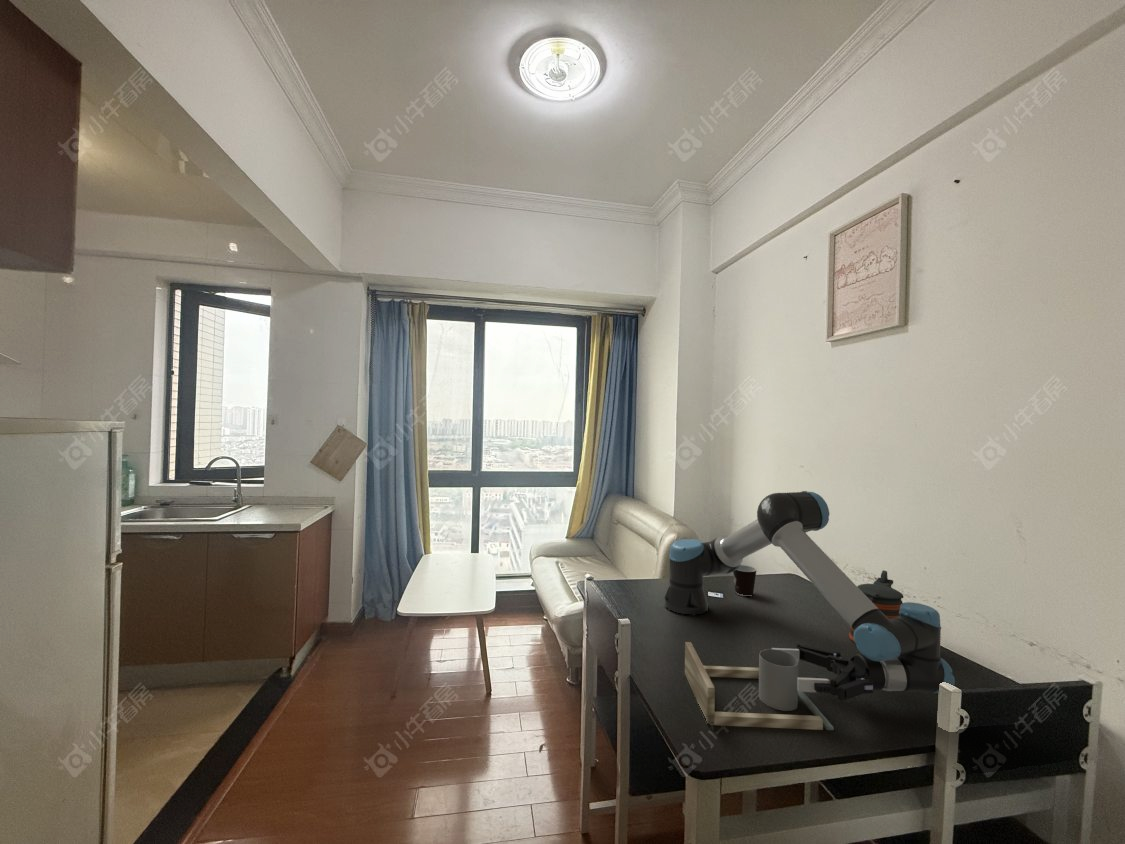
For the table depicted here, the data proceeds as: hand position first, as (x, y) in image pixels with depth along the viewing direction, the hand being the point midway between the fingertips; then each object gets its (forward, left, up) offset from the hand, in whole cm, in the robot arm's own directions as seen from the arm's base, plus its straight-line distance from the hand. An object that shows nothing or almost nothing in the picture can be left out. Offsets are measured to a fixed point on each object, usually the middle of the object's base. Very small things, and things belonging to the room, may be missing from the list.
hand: (784, 668), depth 107 cm
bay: (-6, -4, -8) cm, 11 cm away
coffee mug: (-33, +66, -8) cm, 74 cm away
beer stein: (+12, +54, -8) cm, 56 cm away
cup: (-1, 0, -8) cm, 8 cm away
